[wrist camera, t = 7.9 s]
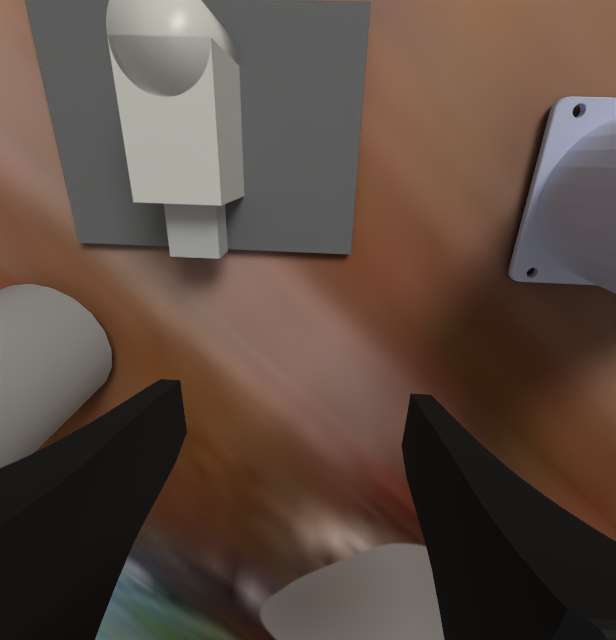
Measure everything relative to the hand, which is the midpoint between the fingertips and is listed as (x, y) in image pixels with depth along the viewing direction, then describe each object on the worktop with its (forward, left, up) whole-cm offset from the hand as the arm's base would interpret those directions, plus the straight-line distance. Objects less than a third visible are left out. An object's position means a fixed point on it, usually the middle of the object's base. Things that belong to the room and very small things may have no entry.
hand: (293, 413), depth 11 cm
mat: (+5, -8, -9) cm, 13 cm away
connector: (+5, -8, -9) cm, 13 cm away
